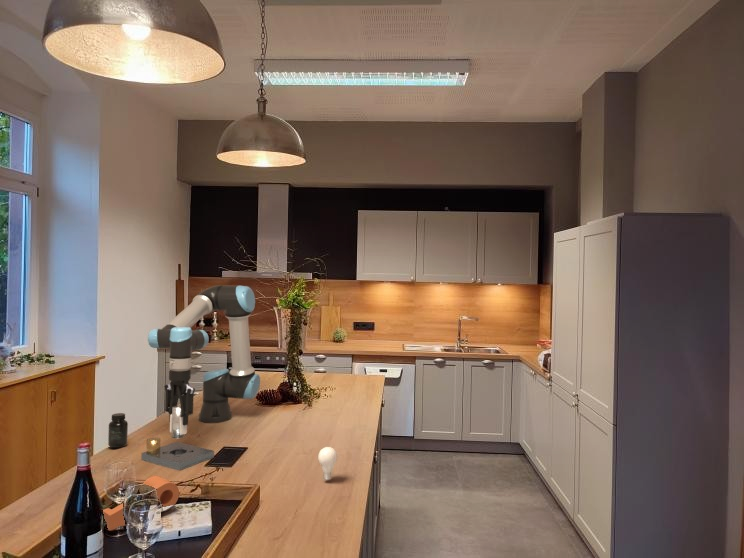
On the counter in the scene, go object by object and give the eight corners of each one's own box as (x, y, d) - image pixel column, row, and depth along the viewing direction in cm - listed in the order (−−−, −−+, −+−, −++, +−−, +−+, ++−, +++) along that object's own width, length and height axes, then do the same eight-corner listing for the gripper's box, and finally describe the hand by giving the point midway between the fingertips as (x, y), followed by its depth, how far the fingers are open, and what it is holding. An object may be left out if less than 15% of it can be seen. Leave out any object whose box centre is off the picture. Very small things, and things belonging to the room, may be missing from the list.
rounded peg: (168, 437, 193) (169, 407, 194) (178, 434, 197) (179, 404, 198) (177, 439, 191) (178, 408, 191) (187, 436, 195) (188, 406, 195)
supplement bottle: (113, 441, 213) (114, 412, 213) (130, 442, 212) (131, 412, 212) (104, 447, 206) (105, 416, 206) (121, 447, 206) (122, 417, 206)
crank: (164, 498, 160) (165, 472, 160) (178, 506, 155) (179, 479, 155) (96, 521, 145) (96, 492, 145) (109, 530, 140) (110, 500, 140)
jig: (140, 459, 193) (141, 440, 193) (176, 448, 207) (176, 430, 207) (179, 470, 183) (180, 450, 183) (214, 457, 197) (214, 438, 197)
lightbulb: (317, 476, 180) (318, 444, 180) (336, 476, 181) (337, 444, 181) (317, 483, 174) (318, 450, 174) (336, 483, 174) (337, 450, 174)
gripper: (155, 368, 196) (153, 431, 195) (188, 373, 187) (187, 439, 187) (171, 365, 202) (170, 426, 202) (204, 370, 194) (203, 434, 193)
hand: (178, 432), depth 194 cm, fingers closed on rounded peg, 4 cm apart
